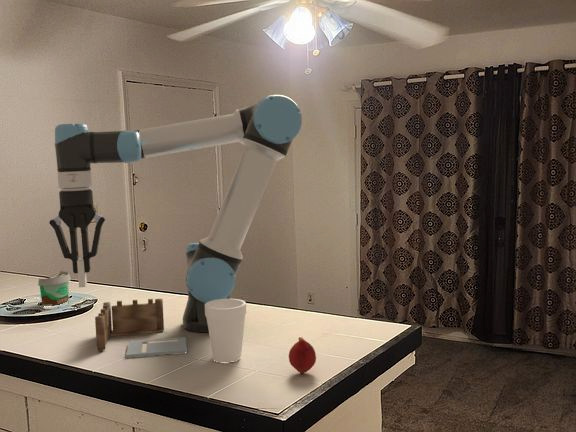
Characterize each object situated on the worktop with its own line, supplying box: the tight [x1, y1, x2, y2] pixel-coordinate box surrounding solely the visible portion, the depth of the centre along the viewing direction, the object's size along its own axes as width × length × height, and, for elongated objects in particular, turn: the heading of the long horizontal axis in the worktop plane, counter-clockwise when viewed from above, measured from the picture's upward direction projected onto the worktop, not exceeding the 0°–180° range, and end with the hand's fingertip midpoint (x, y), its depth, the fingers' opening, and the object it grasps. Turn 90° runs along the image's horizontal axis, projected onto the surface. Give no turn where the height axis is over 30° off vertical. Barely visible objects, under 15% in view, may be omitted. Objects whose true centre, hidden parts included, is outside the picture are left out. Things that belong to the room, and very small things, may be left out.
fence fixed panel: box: [102, 298, 165, 337], centre depth 156 cm, size 15×4×9 cm, turn 101°
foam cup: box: [205, 298, 247, 363], centre depth 135 cm, size 10×9×13 cm
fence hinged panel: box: [94, 304, 110, 352], centre depth 147 cm, size 13×2×8 cm, turn 10°
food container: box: [37, 270, 72, 308], centre depth 184 cm, size 12×6×10 cm, turn 168°
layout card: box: [125, 336, 188, 359], centre depth 143 cm, size 14×10×1 cm
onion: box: [288, 336, 317, 374], centre depth 125 cm, size 6×6×8 cm
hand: (83, 285), depth 143 cm, fingers closed
